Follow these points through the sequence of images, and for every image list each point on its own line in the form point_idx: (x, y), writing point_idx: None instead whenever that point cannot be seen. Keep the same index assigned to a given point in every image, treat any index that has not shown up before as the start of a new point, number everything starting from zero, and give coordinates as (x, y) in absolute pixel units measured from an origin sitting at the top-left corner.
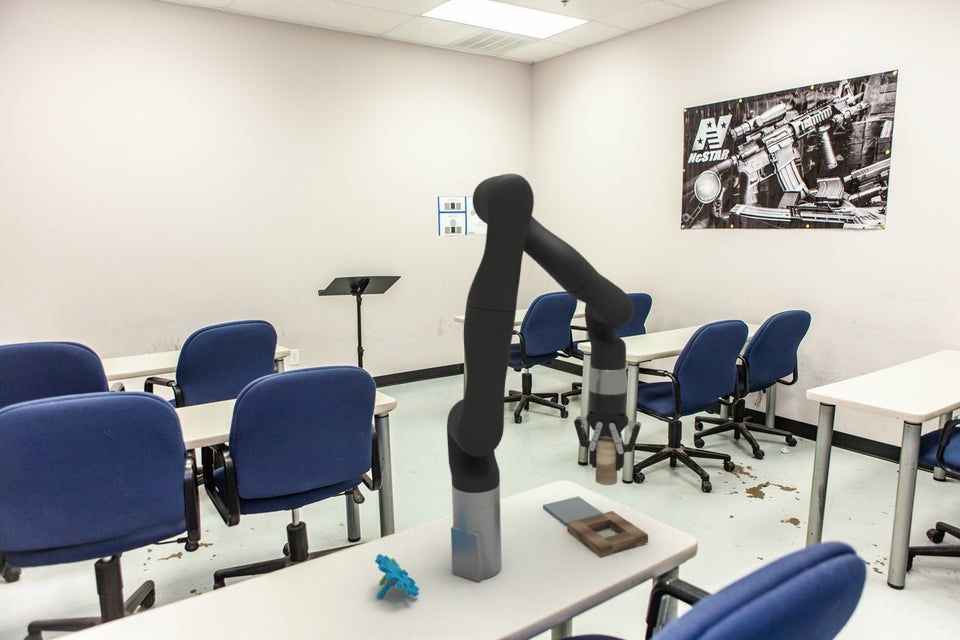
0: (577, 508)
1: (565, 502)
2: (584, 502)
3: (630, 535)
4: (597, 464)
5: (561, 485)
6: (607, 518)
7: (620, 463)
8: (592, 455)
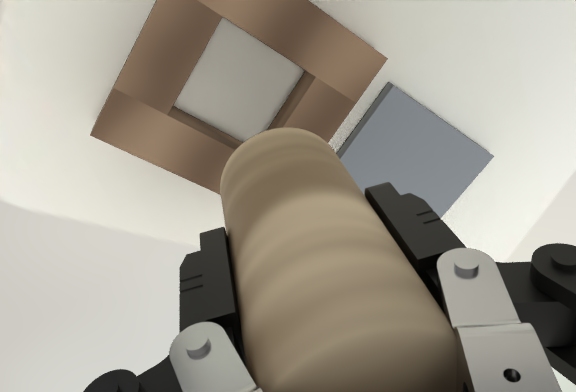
0: None
1: (431, 207)
2: None
3: (141, 92)
4: (358, 195)
5: None
6: None
7: (200, 273)
8: (425, 230)
